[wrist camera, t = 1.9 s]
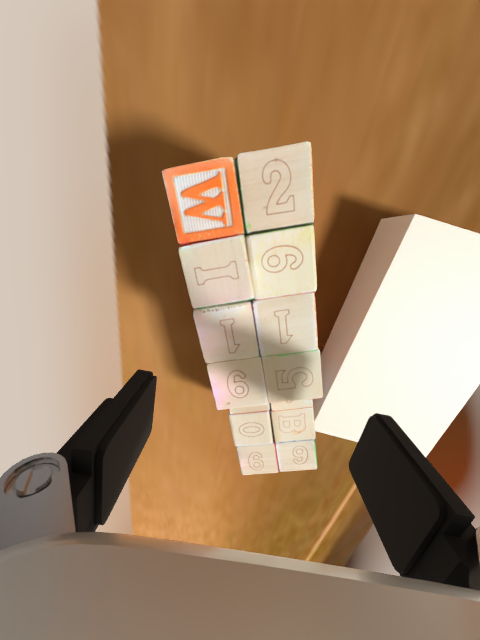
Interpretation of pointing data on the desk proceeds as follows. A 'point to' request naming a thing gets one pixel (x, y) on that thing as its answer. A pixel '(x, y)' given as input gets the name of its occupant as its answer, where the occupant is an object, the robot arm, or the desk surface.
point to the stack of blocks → (255, 296)
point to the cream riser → (405, 333)
